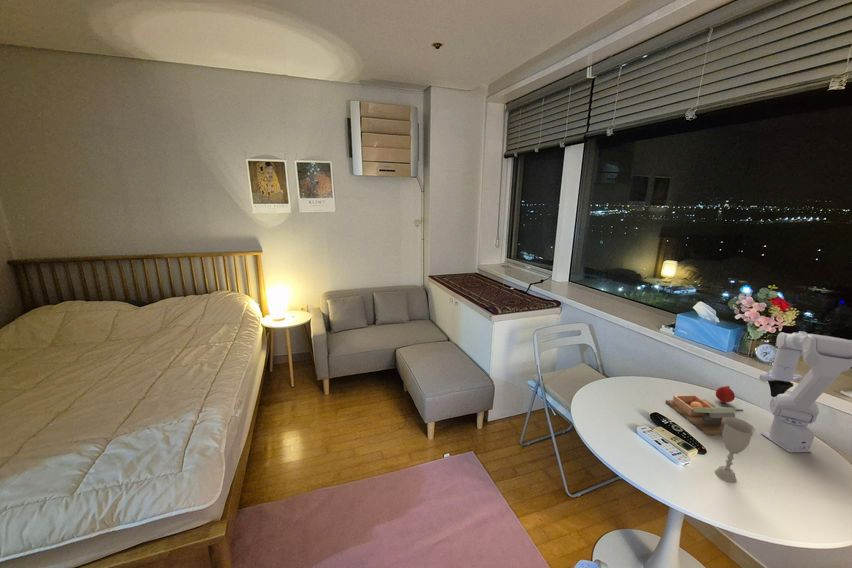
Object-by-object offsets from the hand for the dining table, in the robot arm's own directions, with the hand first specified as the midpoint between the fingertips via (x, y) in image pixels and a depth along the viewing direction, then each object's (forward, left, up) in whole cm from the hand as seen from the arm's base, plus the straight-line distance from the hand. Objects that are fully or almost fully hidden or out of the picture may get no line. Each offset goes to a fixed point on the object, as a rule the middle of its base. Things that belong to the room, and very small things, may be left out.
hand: (775, 397), depth 125 cm
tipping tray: (-3, +21, -5) cm, 22 cm away
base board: (+2, +24, -9) cm, 25 cm away
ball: (+4, +26, -6) cm, 27 cm away
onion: (+11, +8, -10) cm, 17 cm away
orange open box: (+6, +26, -9) cm, 28 cm away
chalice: (-26, +42, -10) cm, 50 cm away
